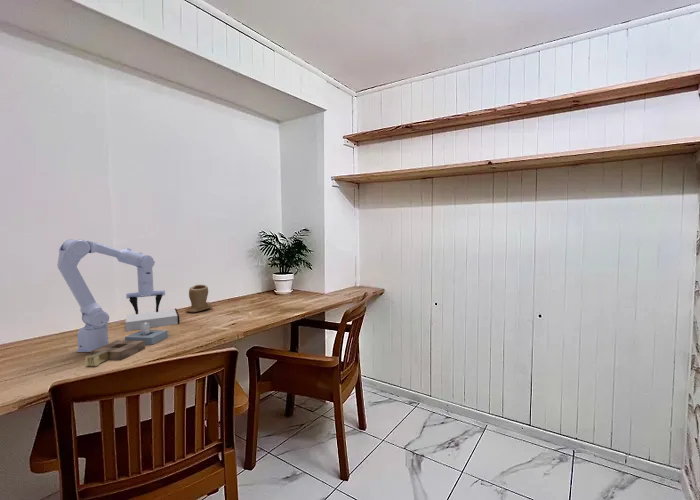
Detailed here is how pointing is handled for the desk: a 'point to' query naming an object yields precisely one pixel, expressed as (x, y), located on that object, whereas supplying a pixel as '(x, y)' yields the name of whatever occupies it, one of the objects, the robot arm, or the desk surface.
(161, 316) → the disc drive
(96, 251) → the robot arm
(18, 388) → the desk surface
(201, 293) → the stone cup
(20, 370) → the desk surface
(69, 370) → the desk surface
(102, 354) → the key
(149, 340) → the block
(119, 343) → the socket block
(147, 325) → the grey peg
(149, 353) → the desk surface
